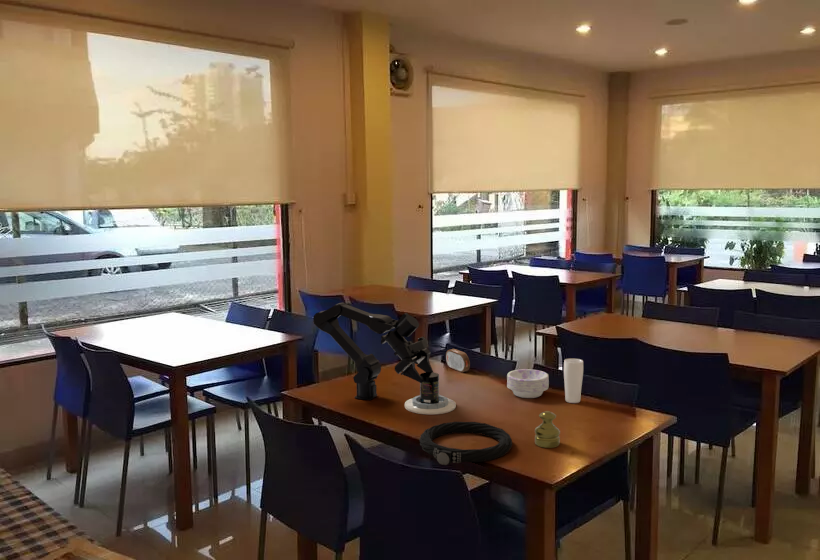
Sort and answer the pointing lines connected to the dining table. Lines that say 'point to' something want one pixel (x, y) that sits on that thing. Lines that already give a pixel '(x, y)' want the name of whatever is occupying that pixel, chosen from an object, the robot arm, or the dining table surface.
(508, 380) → the paper bowls
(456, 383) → the dining table surface
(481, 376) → the dining table surface
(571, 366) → the drinking glass
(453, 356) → the tin
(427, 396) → the supplement container
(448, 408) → the round tray
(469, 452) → the cable lock
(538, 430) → the gold tapered knobbed piece
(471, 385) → the dining table surface
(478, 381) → the dining table surface
